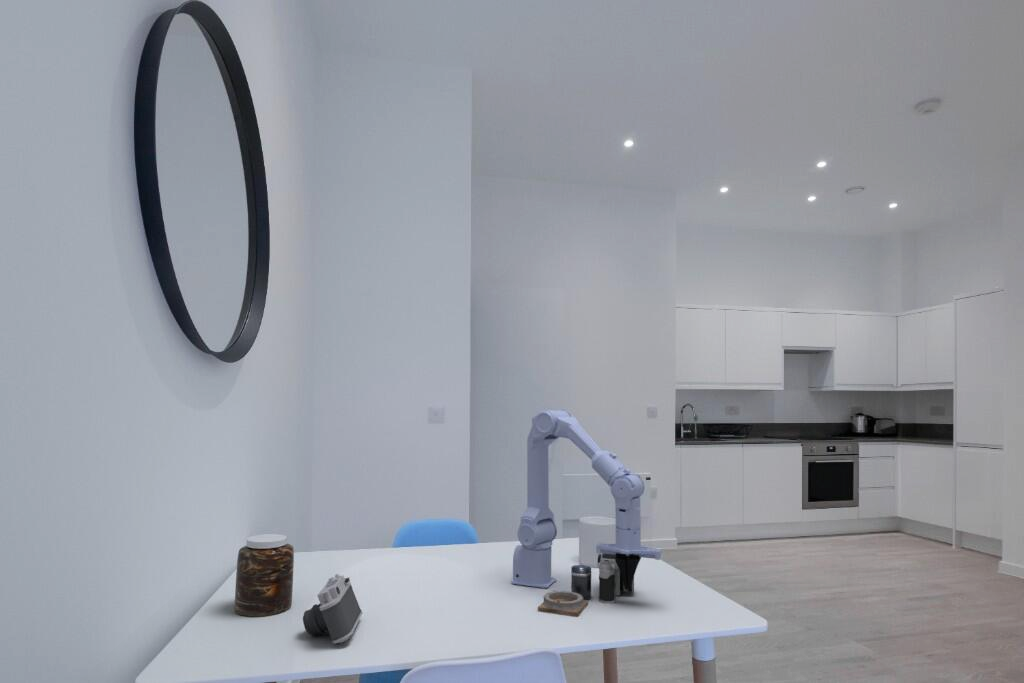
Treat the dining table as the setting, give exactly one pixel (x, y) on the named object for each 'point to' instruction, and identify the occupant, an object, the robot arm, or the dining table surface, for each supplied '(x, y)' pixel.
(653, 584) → the dining table surface
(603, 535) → the cup
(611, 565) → the camera
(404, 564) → the dining table surface
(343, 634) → the camera
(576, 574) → the lens
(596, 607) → the dining table surface
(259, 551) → the jar
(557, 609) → the mount
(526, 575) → the robot arm
